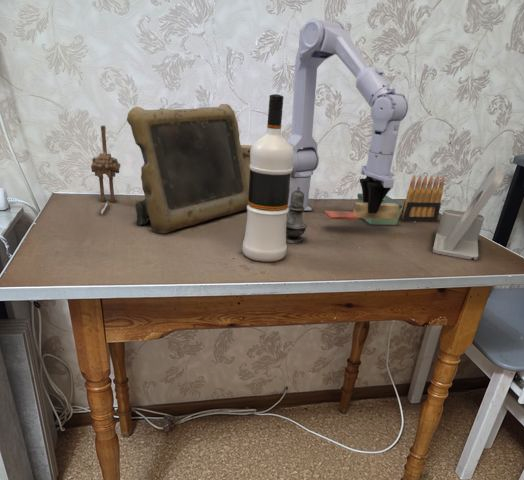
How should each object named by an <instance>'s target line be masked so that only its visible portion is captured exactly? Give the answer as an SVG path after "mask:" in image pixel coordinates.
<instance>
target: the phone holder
mask: <svg viewBox="0 0 524 480" xmlns="http://www.w3.org/2000/svg"><path fill="white" fill-rule="evenodd" d="M503 180H504V176H503V173H502V170H501V168H499V167H497V166H496V165H492V167H491V168H490V169H489V171H488V172H487V174H486V175H485V177H483V179H482V181H481V183H480V185H479V187H478V188H477V190H476V192H475V194H474V196H473V198H472V199H471V201H470V204H469V205H468V206H467V208H466V209H465V210H464V211H461V210H454V209H444V210H443V211H442V213H441V217H440V220H439V224H438V227H437V231H436V234H435V237H434V242H433V247H432V252H433V253H435V254H437V255H444V256H449V257H455V258H460V259H465V260H472V259H473V260H474V261H476V260H478V258H479V242H478V241H479V237H480V233H481V230H482V227H483V224H484V220H485V217H484V215H482V214H480V213H481V212H482V210H483V209H484V208H485V206H486V204H487V203H488V202H489V201H490V200H491V198H492V197H493V195H494V194H495V192H496V191H497V189H498V188H499V187H500V185H501V184H502V183H503Z"/></svg>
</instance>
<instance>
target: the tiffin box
mask: <svg viewBox="0 0 524 480" xmlns="http://www.w3.org/2000/svg"><path fill="white" fill-rule="evenodd" d="M356 202H363V193H357V201H356ZM382 203H396V204H397V205H399V211H398V215H397V219H389V218H362V219H363V220H364V221H365V222H367V223H368V224H369V225H373V226H374V225H376V226H377V225H378V226H379V225H380V226H381V225H384V226H385V225H387V226H388V225H389V226H397V225H398V222H399V219H400V214H401V213H400V212H401V210H402V209H403V204H401V203H400V202H398V201H396V200H395V199H393V198H391V197H390V196H388V195H386V196H385V197H384V199H383V201H382Z"/></svg>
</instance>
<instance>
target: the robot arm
mask: <svg viewBox="0 0 524 480" xmlns="http://www.w3.org/2000/svg"><path fill="white" fill-rule="evenodd" d="M333 56H337V57H338V58H339V59H340V61H341V62H342V63H343V64H344V65H345V66H346V68H347V69H348V70H349V71H350V72H351V74H352V75H353V76H354V77H355V79H356V81H355V87H356V89H357V91H358V92H359V93H360V94H361V96H362V97H363V99H364V100H365V102H366V103H367V104H368V105H369V107H370V116H371V118H372V124H371V125H372V126H371V128H372V131H371V136H370V137H371V138H370V143H369V148H368V155H367V159H366V160H367V161H366V165H361V170H360V174H361V175H362V176H365V178H359V183H360V187H361V192H362V193H361V194H363V202H364V203H368V213H377V212H378V209H379V207H380V205H381V203H382V201H383V199H384V197H385V196H387V195H388V193H389V192H390V191H391V190H392V189H393V188H394V183H395V178H393V177H395V173H394V172H392V171H391V170H392V164H393V159H394V155H395V149H396V146H397V139H398V136H399V130H400V127H401V125H400V124H401V122H402V121H403V120H404V119H405V117H406V116H407V114H408V111H409V103H408V100H407V98H406V96H405V94H402V93H396V88H395V87H394V85H390V83H389V81H388V80H387V79H386V78H385V76H384V73H385V71H384V70H383V69H382V68H378V67H376V66H369V64H368V63H367V61H366V59H365V58H364V57H363V55H362V53H361V51H359V49H358V47H357V46H356V44H355V42H354V41H353V40H352V38H351V33H350V31H349V30H347V28H346V27H345V25H343V23H341V22H338V21H336V22H333V21H328V20H322V19H318V18H310V19H309V20H307V21H306V22H305V23H304V24H303V26H302V27H301V28H300V30H299V36H298V48H297V51H296V54H295V63H294V79H293V80H294V81H293V99H292V115H291V116H292V117H291V135H290V137H288V138H287V140H286V141H287V142H288V143H289V144H290V145H291V146H292V148H293V150H294V160H293V165H292V168H293V170H292V172H291V180H290V190H289V200H288V207H289V206H290V203H291V194H292V192H294V191H296V190H297V188H298V186H299V187H300V189H299V190H300V191H301V192H303V193H304V202H303V207H304V210H303V212H307V211H308V212H311V211H313V209H312V207H310V206H309V205H308V204H309V197H310V188H311V179H312V176H313V175H314V171H316V170H317V168H318V166H319V163H320V157H319V153H318V142H317V141H316V140H315V138H314V137H313V132H314V131H313V130H314V129H313V128H314V117H315V116H314V115H315V104H316V103H315V102H316V89H317V78H318V77H317V76H318V75H317V74H318V68H319V67H320V66H321V65H322V64H323V63H324V62H325V61H327V60H328V59H330V58H331V57H333ZM288 210H289V208H288Z"/></svg>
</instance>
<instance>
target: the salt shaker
mask: <svg viewBox="0 0 524 480" xmlns="http://www.w3.org/2000/svg"><path fill="white" fill-rule="evenodd" d="M299 189H300V187H299V186H298V188H297V190H296V191H294V192H292V194H291V203H290V206H289V207H288V208H289V211H288V216H287V221H286V244H287V243H288V244H297V245H299V244H303V243H304V242H305V239H304V238H303V237H302V235H304V234H305V232H306V230H307V228H308V224H307V223H305V222H304V221H303V213H304V211H303V210H304V207H303V202H304V193H303V192H301V191H300V190H299Z"/></svg>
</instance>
